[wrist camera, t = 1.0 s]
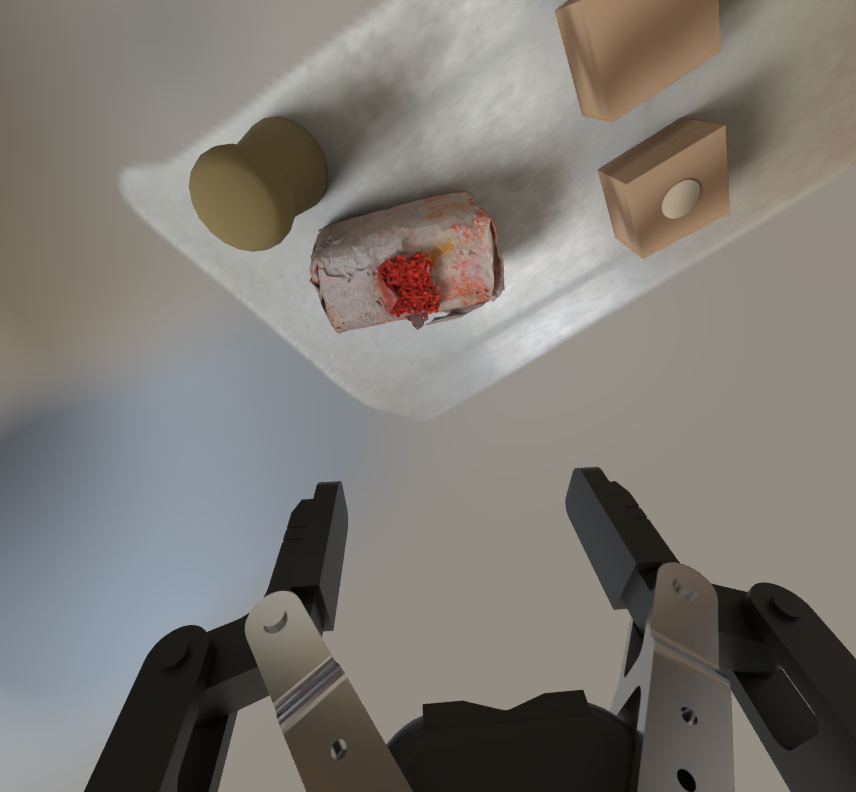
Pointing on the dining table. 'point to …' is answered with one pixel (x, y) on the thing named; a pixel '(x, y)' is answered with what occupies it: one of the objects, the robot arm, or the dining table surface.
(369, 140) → the dining table surface
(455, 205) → the food item
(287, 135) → the cork
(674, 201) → the wooden block with button
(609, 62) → the plain wooden cube
